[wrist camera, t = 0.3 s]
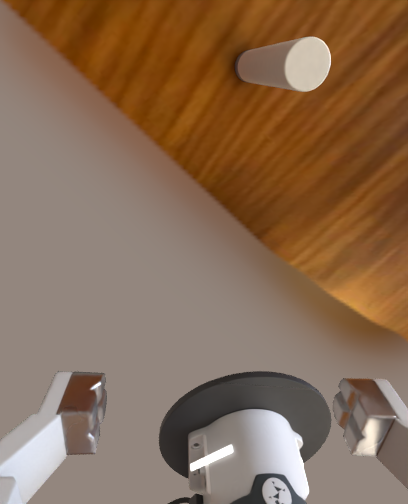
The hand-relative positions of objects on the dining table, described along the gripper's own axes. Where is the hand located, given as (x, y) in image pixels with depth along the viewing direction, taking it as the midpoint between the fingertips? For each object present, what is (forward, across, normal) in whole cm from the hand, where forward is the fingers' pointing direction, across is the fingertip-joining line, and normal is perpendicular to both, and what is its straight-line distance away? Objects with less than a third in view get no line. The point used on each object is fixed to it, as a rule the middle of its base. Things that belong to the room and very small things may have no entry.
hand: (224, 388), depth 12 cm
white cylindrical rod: (+22, +3, +11) cm, 25 cm away
